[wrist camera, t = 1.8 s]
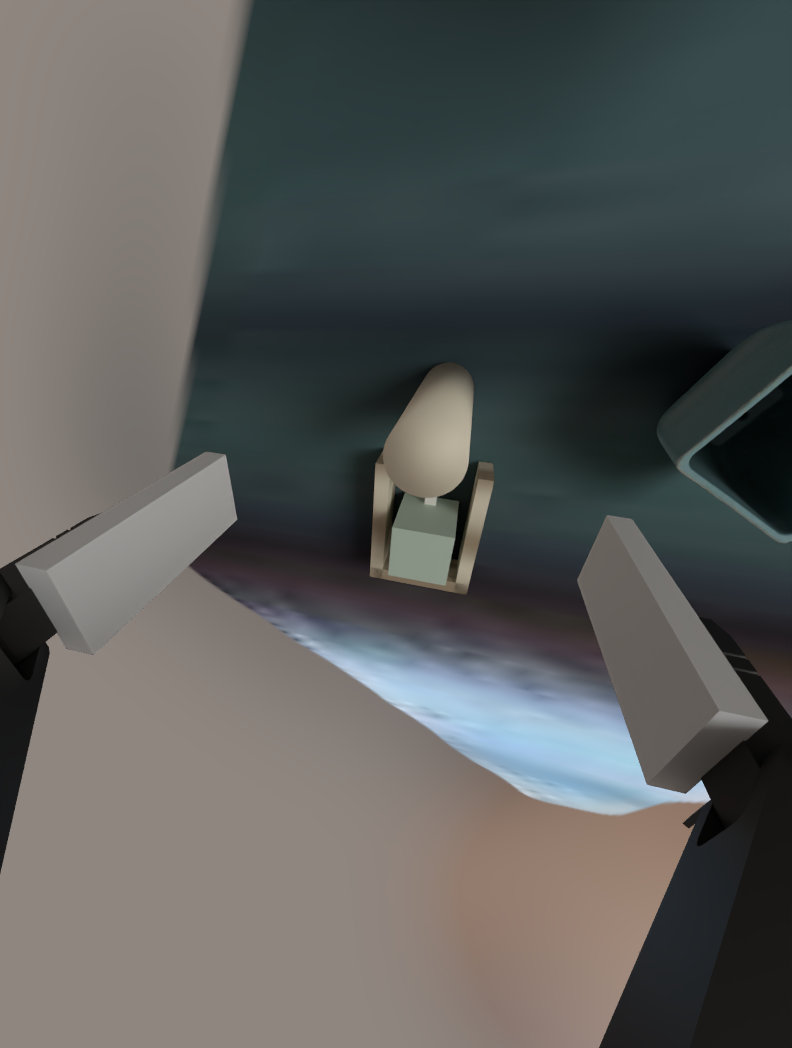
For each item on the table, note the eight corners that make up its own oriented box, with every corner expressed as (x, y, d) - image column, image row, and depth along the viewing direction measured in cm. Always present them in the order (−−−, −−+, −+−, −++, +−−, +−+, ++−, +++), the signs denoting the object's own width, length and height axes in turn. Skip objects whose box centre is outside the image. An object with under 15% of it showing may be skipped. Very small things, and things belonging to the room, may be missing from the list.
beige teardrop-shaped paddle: (418, 358, 28) (374, 409, 16) (485, 366, 27) (488, 425, 16) (400, 536, 37) (364, 649, 26) (450, 545, 36) (436, 665, 25)
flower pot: (621, 418, 28) (672, 466, 20) (739, 300, 23) (862, 307, 16) (707, 481, 29) (784, 548, 22) (836, 381, 24) (993, 423, 17)
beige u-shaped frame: (384, 447, 33) (375, 463, 30) (493, 463, 31) (494, 481, 29) (378, 554, 39) (369, 576, 36) (467, 571, 38) (466, 594, 35)
